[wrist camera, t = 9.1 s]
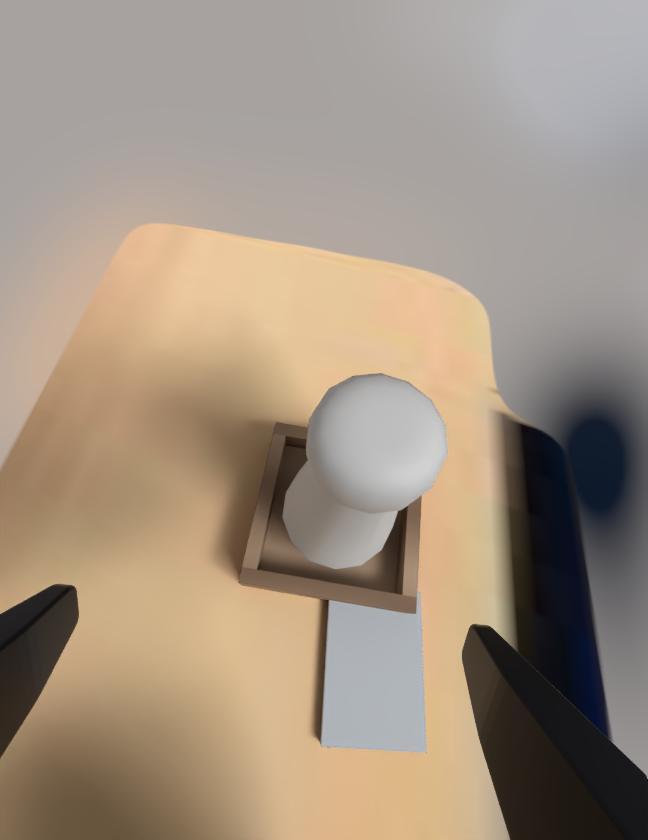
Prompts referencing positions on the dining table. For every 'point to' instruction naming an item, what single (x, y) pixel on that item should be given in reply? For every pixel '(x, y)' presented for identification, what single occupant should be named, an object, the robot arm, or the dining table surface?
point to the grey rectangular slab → (373, 679)
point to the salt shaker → (362, 468)
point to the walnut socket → (293, 573)
